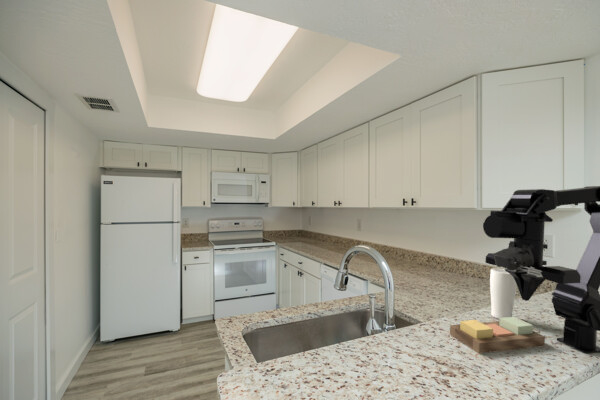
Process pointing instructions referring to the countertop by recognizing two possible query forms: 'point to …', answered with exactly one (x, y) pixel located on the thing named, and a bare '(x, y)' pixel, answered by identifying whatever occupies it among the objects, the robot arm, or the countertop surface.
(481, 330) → the ochre key
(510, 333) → the terracotta key
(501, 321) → the sage key
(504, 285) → the white tall cylinder
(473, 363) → the countertop surface
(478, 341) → the brown wooden slotted tray
